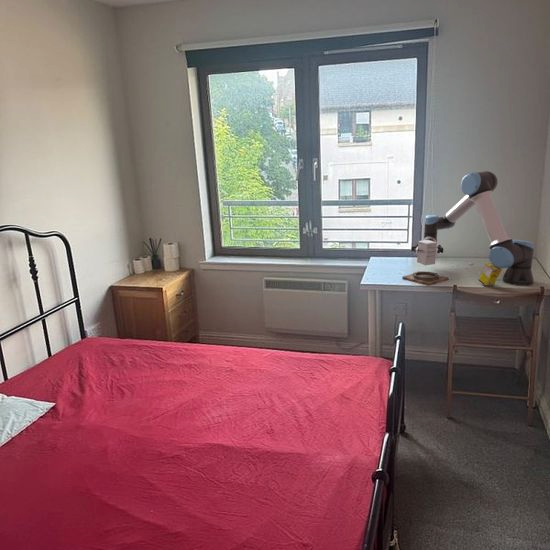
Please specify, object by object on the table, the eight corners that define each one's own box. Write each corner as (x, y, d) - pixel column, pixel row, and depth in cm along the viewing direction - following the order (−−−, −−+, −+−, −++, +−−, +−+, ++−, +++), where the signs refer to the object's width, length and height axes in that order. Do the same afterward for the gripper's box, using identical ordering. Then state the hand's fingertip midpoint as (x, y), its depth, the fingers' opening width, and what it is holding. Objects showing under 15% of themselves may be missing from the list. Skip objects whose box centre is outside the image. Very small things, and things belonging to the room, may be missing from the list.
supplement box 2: (493, 286, 265) (502, 269, 259) (485, 286, 263) (493, 269, 257) (486, 279, 269) (494, 262, 263) (478, 280, 267) (486, 263, 261)
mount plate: (448, 279, 278) (449, 274, 277) (428, 285, 268) (429, 280, 267) (422, 273, 292) (422, 268, 291) (402, 278, 282) (402, 274, 281)
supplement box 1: (416, 262, 280) (417, 240, 277) (427, 261, 283) (428, 239, 279) (424, 265, 274) (426, 243, 270) (435, 264, 276) (437, 242, 273)
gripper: (448, 251, 289) (447, 260, 269) (409, 249, 297) (404, 257, 276) (449, 239, 287) (448, 247, 267) (409, 237, 294) (405, 244, 274)
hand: (426, 252), depth 272 cm, fingers closed on supplement box 1, 10 cm apart
